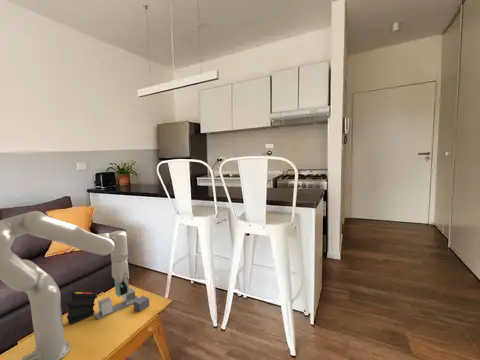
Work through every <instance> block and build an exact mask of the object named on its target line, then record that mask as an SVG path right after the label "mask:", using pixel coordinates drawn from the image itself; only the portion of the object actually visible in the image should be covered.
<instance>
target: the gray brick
mask: <svg viewBox="0 0 480 360" xmlns="http://www.w3.org/2000/svg"><path fill="white" fill-rule="evenodd" d="M133 302H134V303H133V309H134V310H136V311H138V312H140V313H141V312H142V311H144V310H146V309H147V308H149V307H150V298H149V297H148V296H145V295H141V296H140V297H138V299H136V300H135V301H133Z"/></svg>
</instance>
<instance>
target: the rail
mask: <svg viewBox="0 0 480 360" xmlns="http://www.w3.org/2000/svg"><path fill="white" fill-rule="evenodd" d="M121 297H122V301H121V302H119V303H117V304H115V305H113V301H112V300H113V299H111V298H110V297H109V296H106V297H104V298H101V299H100V300H97V304H98V312H96V313H94V315H93V316H94V318H95V320H97V321H98V320H100V319H103V318H105V317H107V316H109V315H111V314H113V313H116V312H118V311H120V310H122V309H124V308H127V307H129V306H131V305H134V302H133V301H135V300H136V299H138V298H139V296H137V295H136V292H135V290H134V288H132V287H129V293H127V294H125V295H122V296H121Z"/></svg>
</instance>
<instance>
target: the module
mask: <svg viewBox="0 0 480 360" xmlns="http://www.w3.org/2000/svg"><path fill="white" fill-rule="evenodd" d="M123 280H124V279H123ZM123 283H124V282H122V284H123ZM129 285H130V284H129V282H128V284H127V290H128V292H127V293H129V288H130V286H129ZM120 287H121V285H120V283H118V282H117V281H116V280H115V279H114V292H115V295H116V296H117V297H118V298H119V297H122V295H121V294H120ZM127 293H126V294H127ZM123 295H125V294H123Z"/></svg>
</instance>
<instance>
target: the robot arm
mask: <svg viewBox="0 0 480 360" xmlns="http://www.w3.org/2000/svg"><path fill="white" fill-rule="evenodd" d="M27 234H28V235H31V236H34V237H37V238H41V239H45V240H49V241H53V242H56V243H59V244H63V245H67V246H69V247H71V248H76V249H79V250H81V251H85V252H87V253H91V254H94V255H95V254H96V255H99V256H108V255H110V261H111V277H112V279H114V281H115V280H116V281H117V282H118V283H120V285H121V287H120V294H121V295H123V294H126V293H127V292H128V290H127V284H128V283H129V279H130V271H129V263H128V259H129V250H128V235H127V232H126V231H125V230H114V231H113V232H106V233H97V234H96V233H93V232H91V231H88V230H86V229H84V228H82V227H80V226H79V225H76V224H74V223H72V222H68V221H64V220H61V219H58V218H57V217H52V216H51V215H50V216H49V215H46V214H45V213H44V212H42V211H40V210H39V211H38V210H33V211H28V212H25V213H21V214H17V215H15V216H11V217H8V218H4V219H0V281H1V282H3V284H5V285H6V286H8V287H9V289H11V290H13V291H15V292H19V293H21V292H24V293H25V294H27V297H28V298H27V299H28V300H29V304H30V305H29V306H30V311H31V319H32V327H33V334H34V340H35V341H34V342H35V347H34V350H32V352H30V353H29V354H27V355H26V354H25V355H24V356H22V357H21V358H22V359H21V360H62V359H63V358H64V357H66V356H67V354H68V353H69V351H71V343H70V342H69V341H67V340H66V338H65V337H66V336H65V330H64V329H65V328H64V321H63V315H62V314H63V313H62V305H61V304H62V303H61V302H62V300H61V299H62V297H61V291H60V288H59V286H58V284H57V283H56V282H55V280H54V279H53V277H52V276H51V275H50V274H48V273H47V272H46V271H44V270H43V269H42V268H40V266H39V265H37V264H36V263H34V262H33V261H32V260H29V259H22V258H20V257H19V256H18V255H17V254H15V253H14V252H13V251H12V249H11V248H12V245H13V243H14V241H15V239H16V238H18V237H20V236H25V235H27ZM123 279H124V280H123ZM122 282H124V283H123V284H122Z"/></svg>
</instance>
